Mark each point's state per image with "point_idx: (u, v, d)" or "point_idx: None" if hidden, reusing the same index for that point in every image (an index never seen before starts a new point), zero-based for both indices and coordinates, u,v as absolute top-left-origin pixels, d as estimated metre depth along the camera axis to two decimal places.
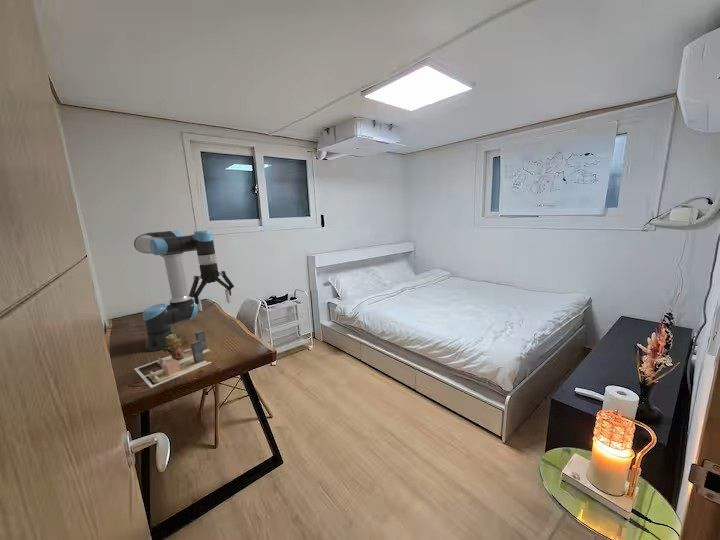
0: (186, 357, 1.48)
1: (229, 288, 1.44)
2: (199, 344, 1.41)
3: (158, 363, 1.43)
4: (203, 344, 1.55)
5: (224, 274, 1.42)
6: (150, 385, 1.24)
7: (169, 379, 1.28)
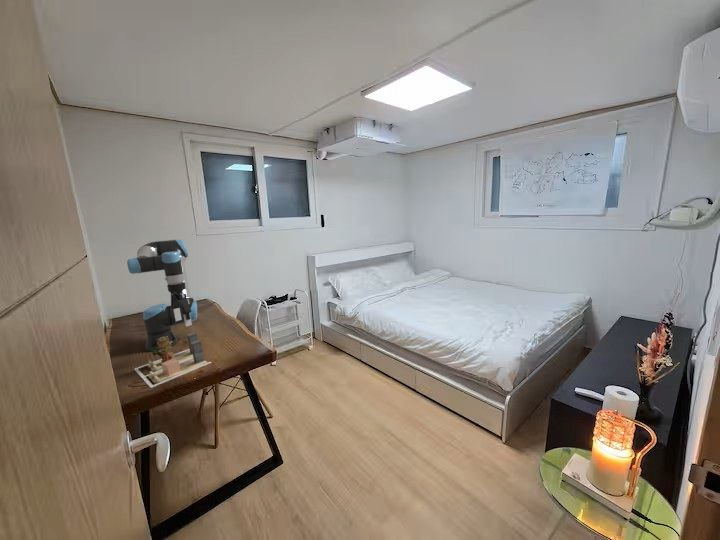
0: (178, 360, 1.45)
1: (183, 312, 1.41)
2: (199, 344, 1.41)
3: (149, 366, 1.40)
4: None
5: (180, 297, 1.40)
6: (150, 385, 1.24)
7: (169, 379, 1.28)
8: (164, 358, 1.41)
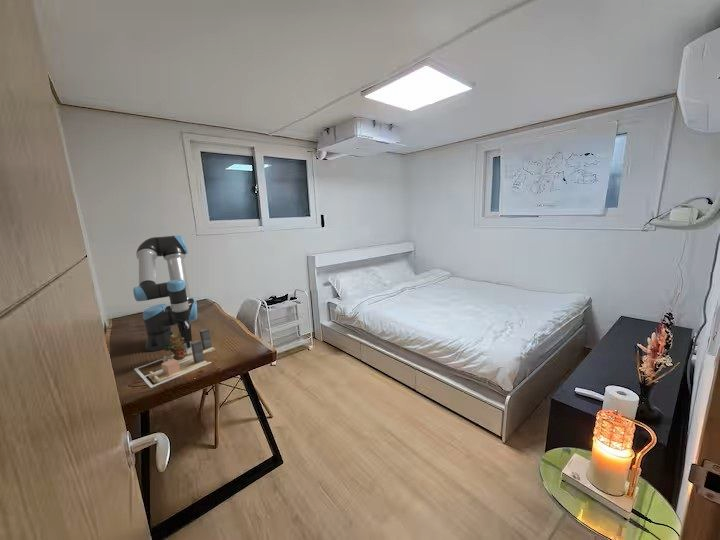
0: (191, 355, 1.50)
1: (184, 341, 1.48)
2: (199, 344, 1.41)
3: (163, 361, 1.45)
4: (208, 342, 1.57)
5: (185, 328, 1.44)
6: (150, 385, 1.24)
7: (169, 379, 1.28)
8: (176, 354, 1.45)
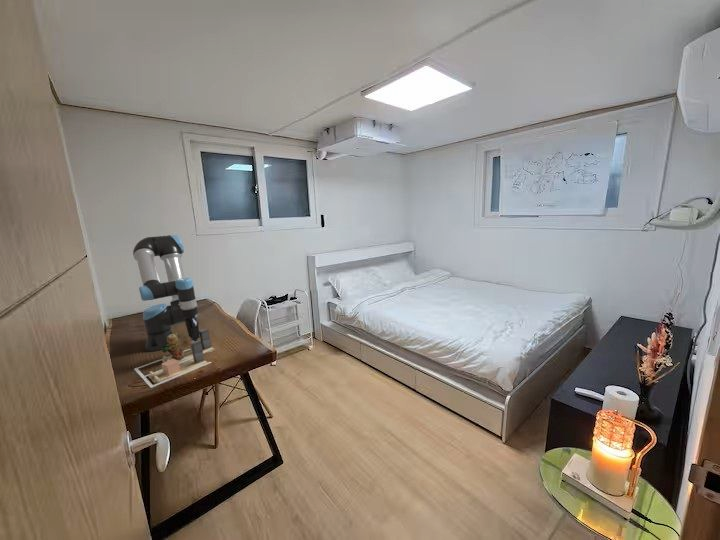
0: (190, 355, 1.49)
1: (192, 338, 1.50)
2: (199, 344, 1.41)
3: (163, 361, 1.45)
4: (207, 343, 1.56)
5: (192, 325, 1.47)
6: (150, 385, 1.24)
7: (169, 379, 1.28)
8: (174, 354, 1.45)
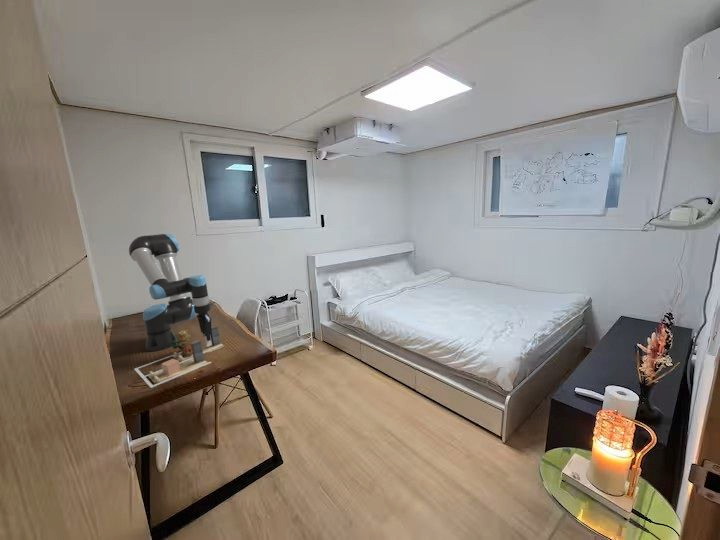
0: None
1: (205, 334, 1.55)
2: (199, 344, 1.41)
3: (174, 357, 1.49)
4: (216, 339, 1.60)
5: (205, 321, 1.51)
6: (150, 385, 1.24)
7: (169, 379, 1.28)
8: (184, 351, 1.48)
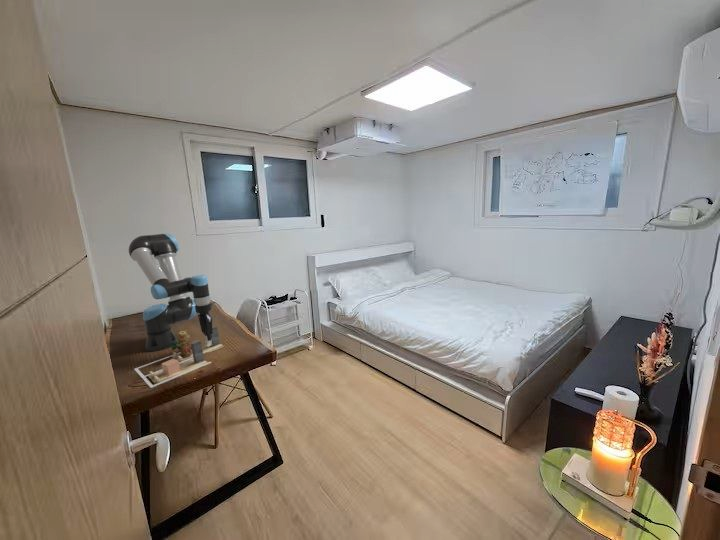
0: None
1: (205, 334, 1.55)
2: (199, 344, 1.41)
3: (173, 357, 1.48)
4: (216, 339, 1.60)
5: (206, 321, 1.52)
6: (150, 385, 1.24)
7: (169, 379, 1.28)
8: (184, 351, 1.47)
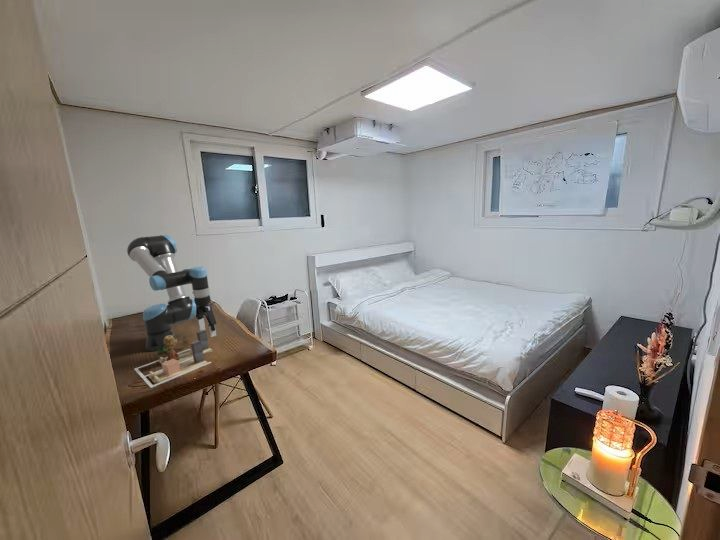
0: (188, 356, 1.49)
1: None
2: (199, 344, 1.41)
3: (160, 362, 1.44)
4: (205, 343, 1.55)
5: (206, 310, 1.50)
6: (150, 385, 1.24)
7: (169, 379, 1.28)
8: (171, 356, 1.43)
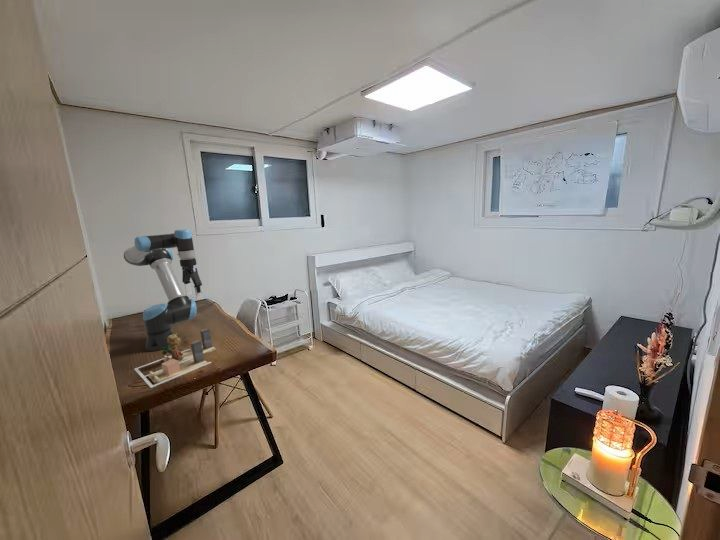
0: (192, 355, 1.50)
1: (195, 285, 1.51)
2: (199, 344, 1.41)
3: None
4: (208, 342, 1.57)
5: (191, 271, 1.51)
6: (150, 385, 1.24)
7: (169, 379, 1.28)
8: (175, 355, 1.44)
